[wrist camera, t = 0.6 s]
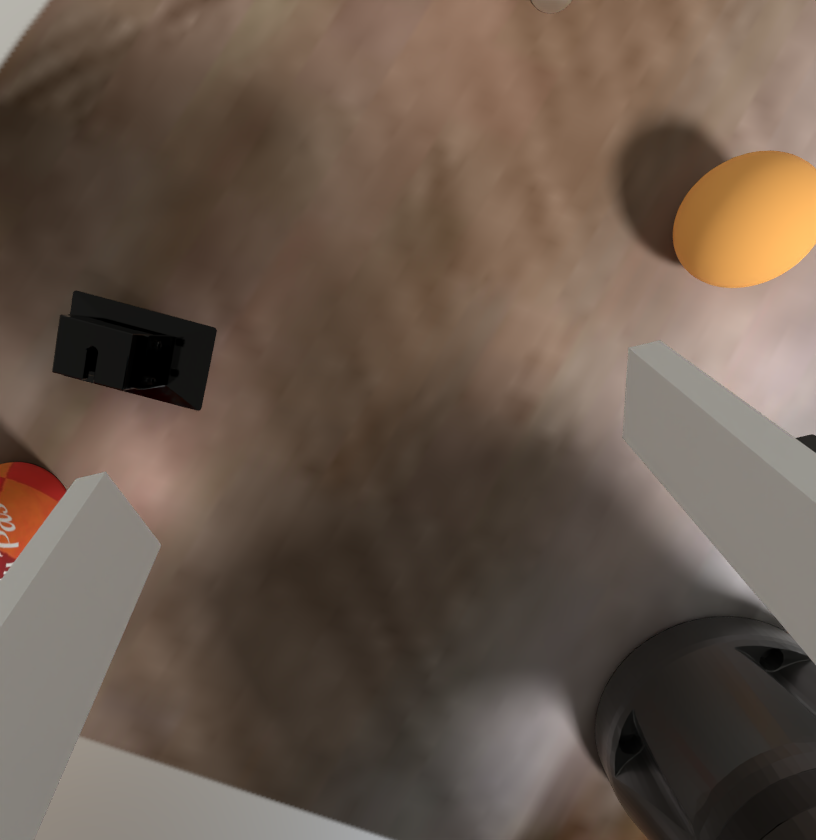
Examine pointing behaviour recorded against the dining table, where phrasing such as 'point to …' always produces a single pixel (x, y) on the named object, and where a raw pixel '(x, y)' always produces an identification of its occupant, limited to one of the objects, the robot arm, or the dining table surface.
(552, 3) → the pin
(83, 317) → the dark piece
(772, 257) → the ball
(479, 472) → the dining table surface
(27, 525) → the coffee cup
